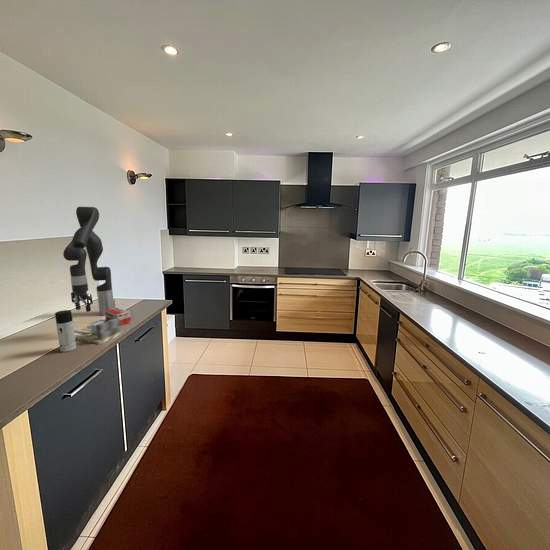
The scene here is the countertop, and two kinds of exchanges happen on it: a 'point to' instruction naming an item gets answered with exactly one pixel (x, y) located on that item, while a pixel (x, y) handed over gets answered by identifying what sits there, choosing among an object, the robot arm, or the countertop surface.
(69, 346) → the spray can
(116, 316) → the medicine box
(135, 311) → the countertop surface
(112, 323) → the base
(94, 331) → the gauge slider
